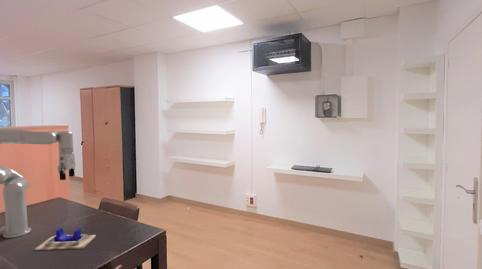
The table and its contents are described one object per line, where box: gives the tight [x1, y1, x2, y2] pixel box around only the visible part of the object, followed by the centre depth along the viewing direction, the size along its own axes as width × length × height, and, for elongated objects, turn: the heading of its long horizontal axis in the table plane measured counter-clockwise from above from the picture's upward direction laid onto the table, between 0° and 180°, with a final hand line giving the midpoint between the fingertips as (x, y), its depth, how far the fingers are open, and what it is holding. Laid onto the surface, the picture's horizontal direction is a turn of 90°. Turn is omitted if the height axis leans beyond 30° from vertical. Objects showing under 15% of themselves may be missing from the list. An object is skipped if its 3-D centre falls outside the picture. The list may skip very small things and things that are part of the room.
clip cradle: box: [34, 233, 97, 251], centre depth 143 cm, size 24×14×2 cm, turn 95°
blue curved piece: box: [54, 227, 82, 242], centre depth 143 cm, size 12×4×6 cm, turn 85°
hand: (67, 177), depth 165 cm, fingers open, 9 cm apart
